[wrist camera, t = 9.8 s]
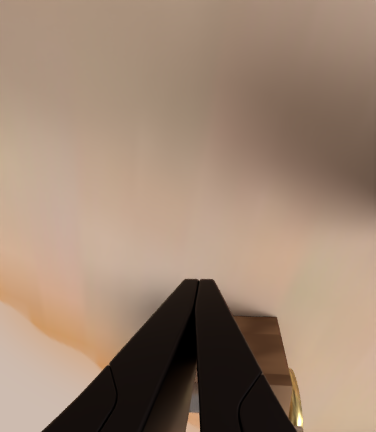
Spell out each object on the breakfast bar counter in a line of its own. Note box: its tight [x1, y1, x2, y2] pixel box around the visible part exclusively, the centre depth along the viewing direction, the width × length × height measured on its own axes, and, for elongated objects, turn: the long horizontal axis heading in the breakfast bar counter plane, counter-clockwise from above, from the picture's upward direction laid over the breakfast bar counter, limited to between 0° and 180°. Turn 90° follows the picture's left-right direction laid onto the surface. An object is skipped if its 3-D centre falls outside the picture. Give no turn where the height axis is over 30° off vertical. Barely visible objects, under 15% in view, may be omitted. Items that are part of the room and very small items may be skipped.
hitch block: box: [233, 316, 293, 417], centre depth 24 cm, size 6×12×6 cm, turn 4°
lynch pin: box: [189, 368, 303, 432], centre depth 23 cm, size 10×5×6 cm, turn 94°
